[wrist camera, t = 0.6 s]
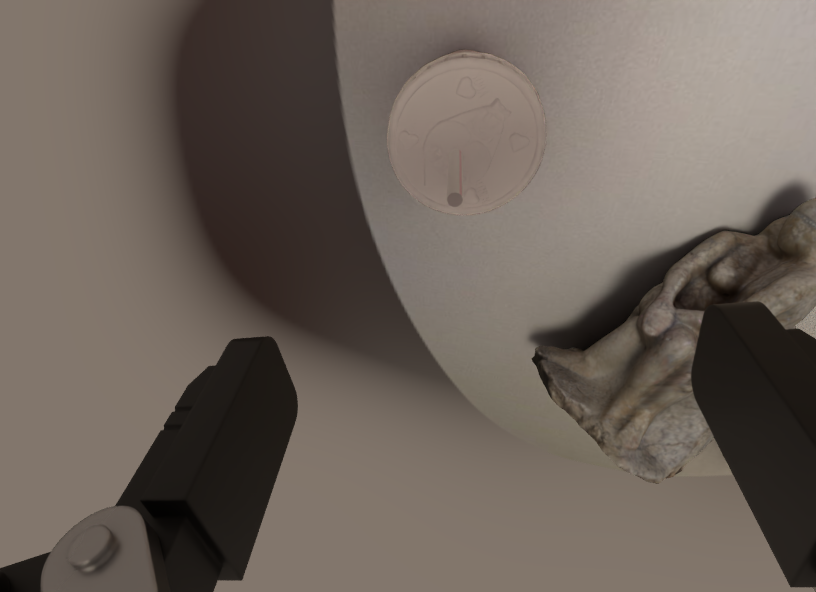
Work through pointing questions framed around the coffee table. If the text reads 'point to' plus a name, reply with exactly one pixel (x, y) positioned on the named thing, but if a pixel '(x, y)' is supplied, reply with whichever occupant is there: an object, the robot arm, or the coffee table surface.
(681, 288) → the sculpture
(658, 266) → the coffee table surface
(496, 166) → the smoothie
